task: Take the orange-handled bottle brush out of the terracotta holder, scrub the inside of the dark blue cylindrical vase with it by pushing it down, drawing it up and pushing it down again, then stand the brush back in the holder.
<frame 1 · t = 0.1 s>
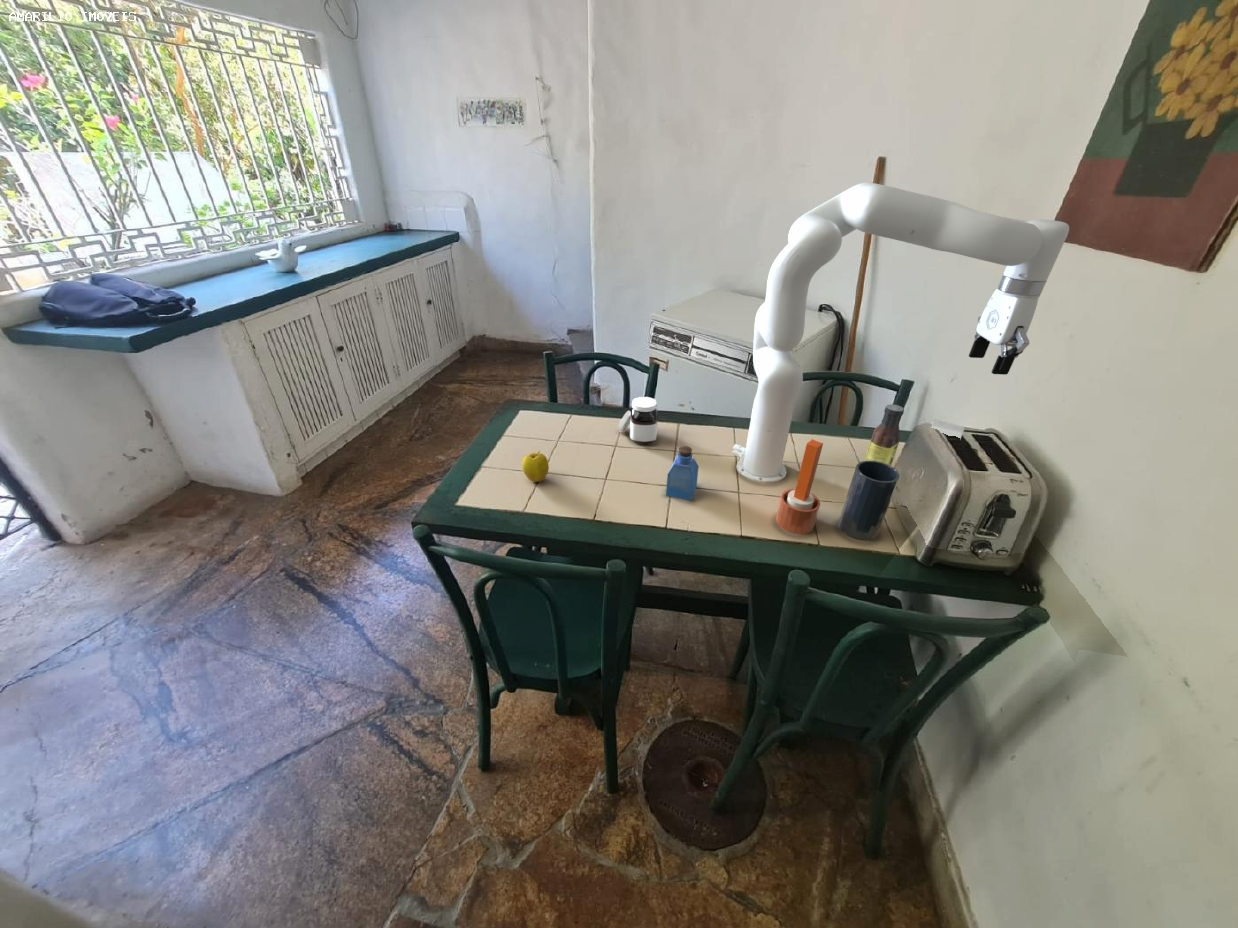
hand: (987, 365, 114), 31 cm above the table, tool pointing down, fingers open, 9 cm apart
brush: (794, 521, 115), point 1 cm above the table, touching brush holder
sauce bottle: (872, 478, 132), on the table
brush holder: (794, 524, 115), on the table
dark blue cylindrical vase: (856, 531, 113), on the table
milk: (916, 504, 122), on the table
apple: (536, 479, 129), on the table
spread jar: (636, 437, 148), on the table
perfume bottle: (681, 491, 125), on the table
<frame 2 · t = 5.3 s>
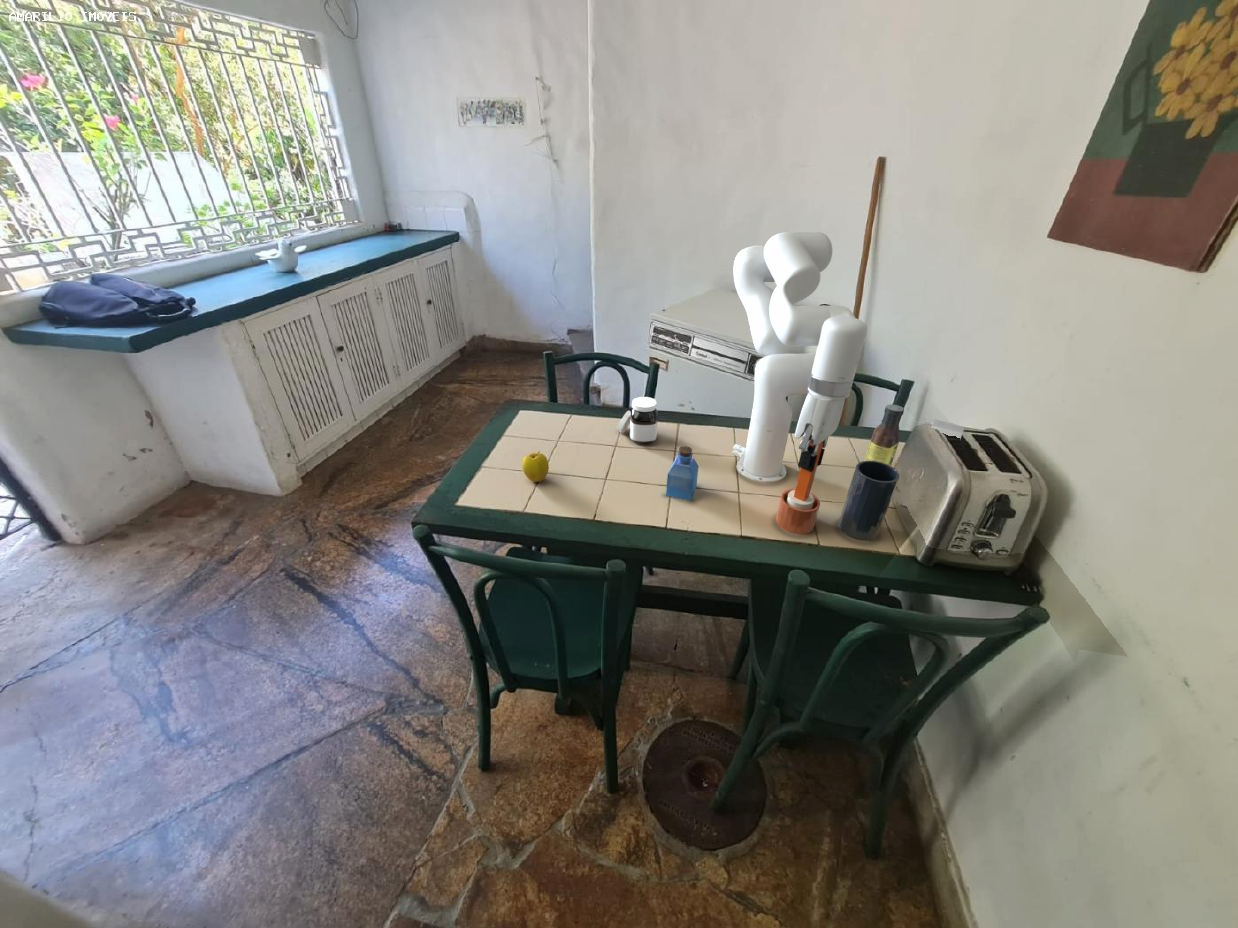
hand: (809, 465, 106), 16 cm above the table, tool pointing down, fingers closed on brush, 2 cm apart
brush: (794, 521, 115), point 1 cm above the table, touching brush holder, gripper
everything else where it was.
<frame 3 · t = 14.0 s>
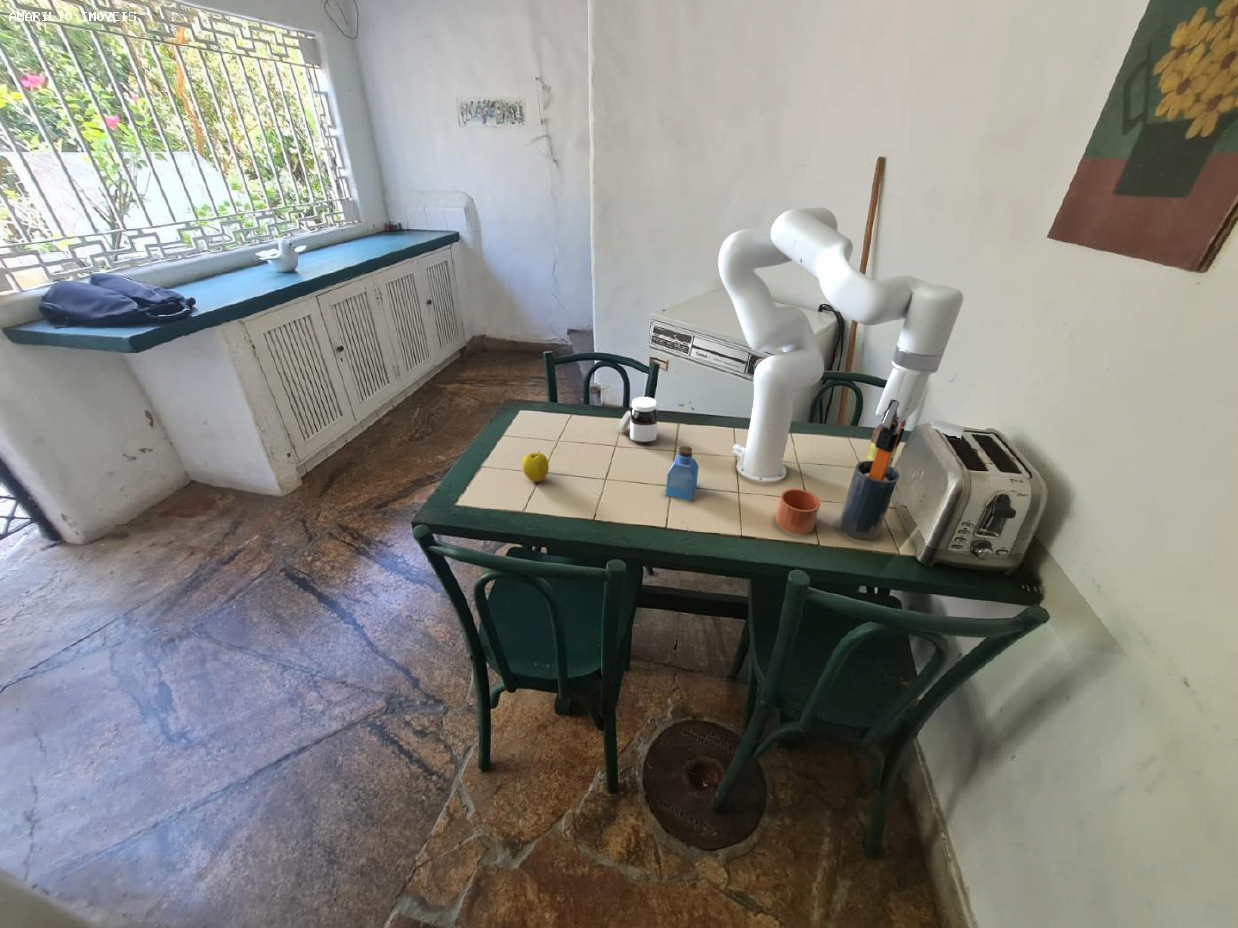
hand: (887, 445, 101), 22 cm above the table, tool pointing down, fingers closed on brush, 2 cm apart
brush: (866, 506, 110), point 7 cm above the table, touching gripper
everything else where it was.
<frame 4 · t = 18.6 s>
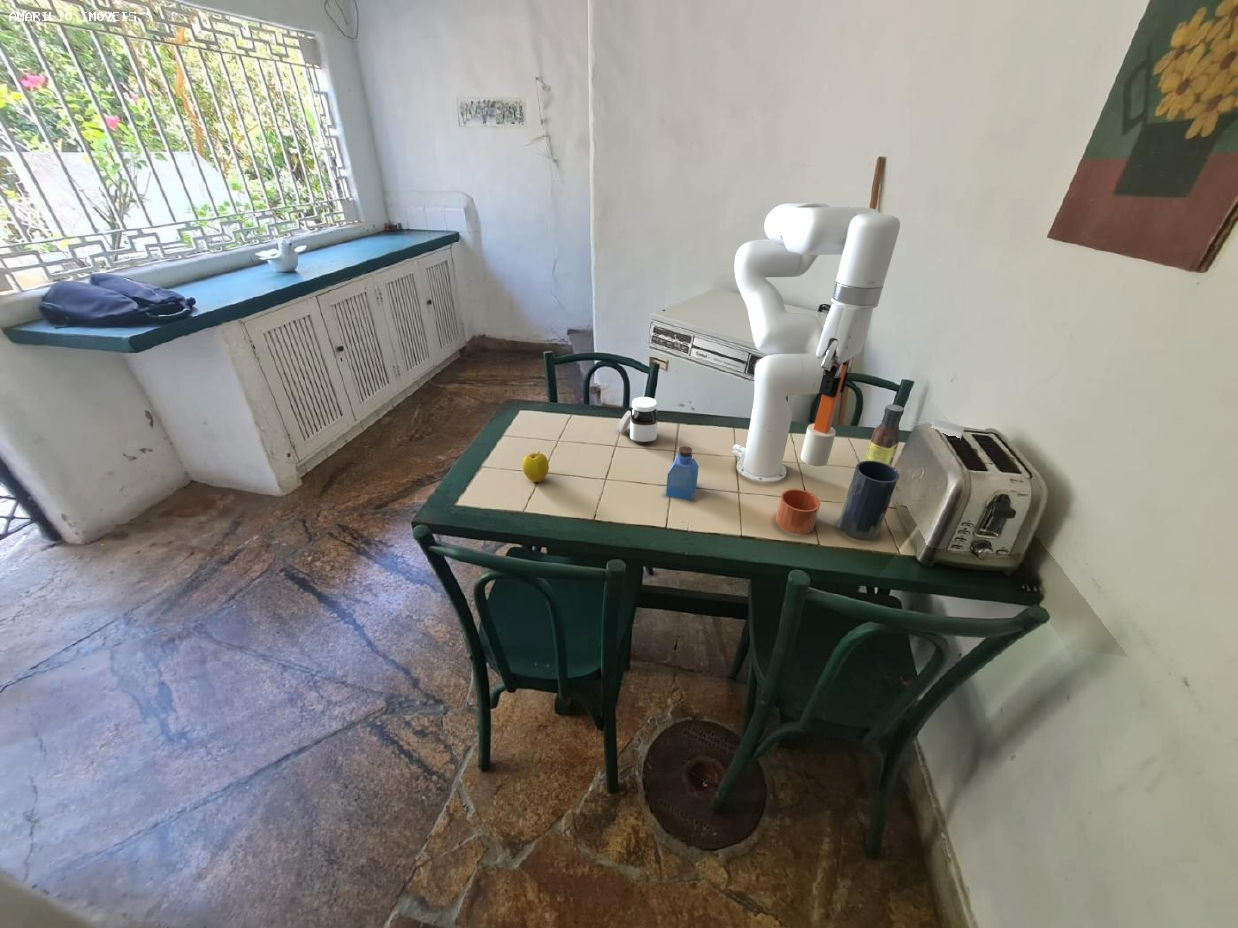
hand: (831, 392, 97), 33 cm above the table, tool pointing down, fingers closed on brush, 2 cm apart
brush: (813, 459, 105), point 18 cm above the table, touching gripper
everything else where it was.
when the fingers open (16 cm above the table, at t = 22.5 s): brush stays where it is, resting on brush holder.
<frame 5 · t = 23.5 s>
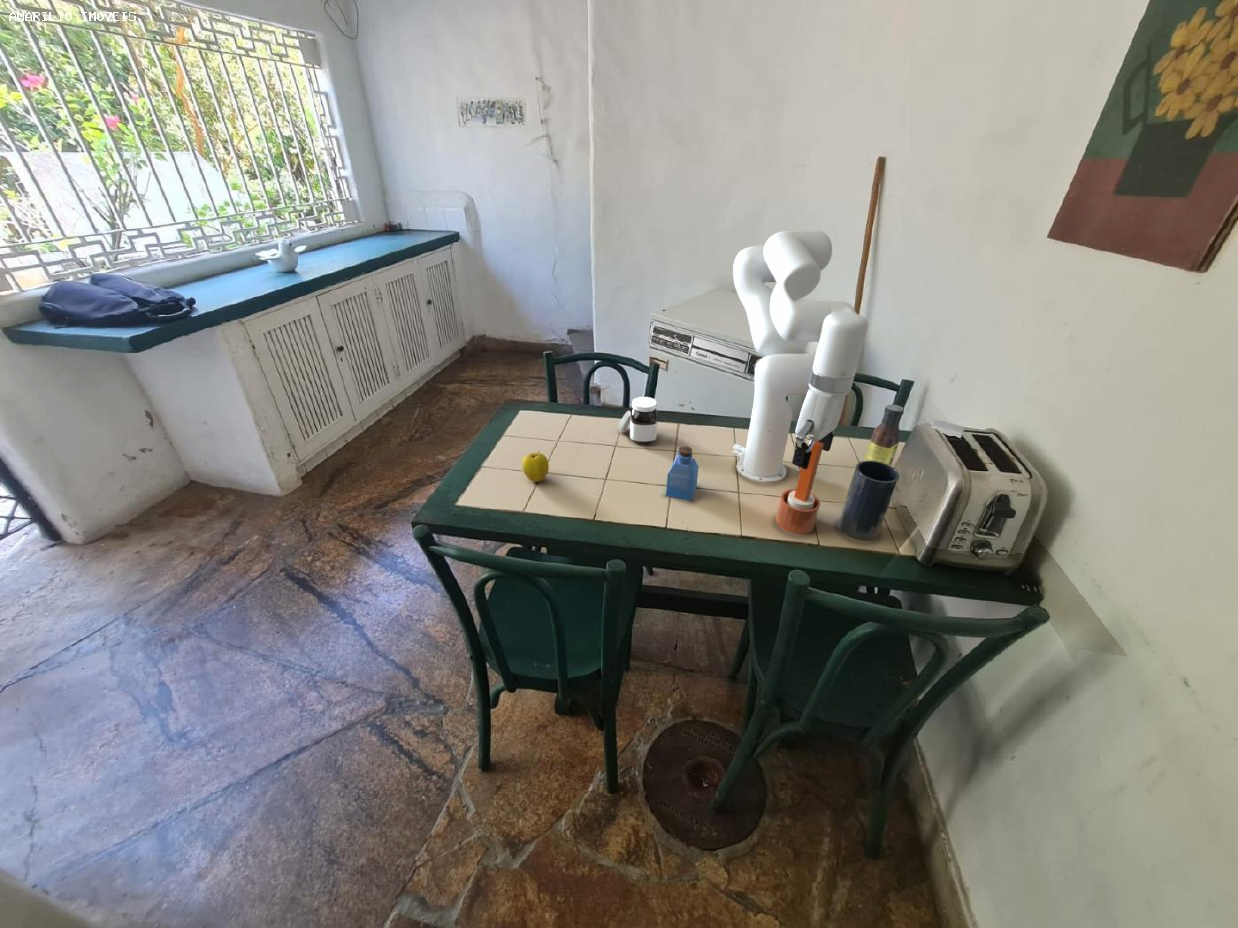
hand: (811, 457, 105), 18 cm above the table, tool pointing down, fingers open, 9 cm apart
brush: (795, 522, 114), point 1 cm above the table, touching brush holder
everything else where it was.
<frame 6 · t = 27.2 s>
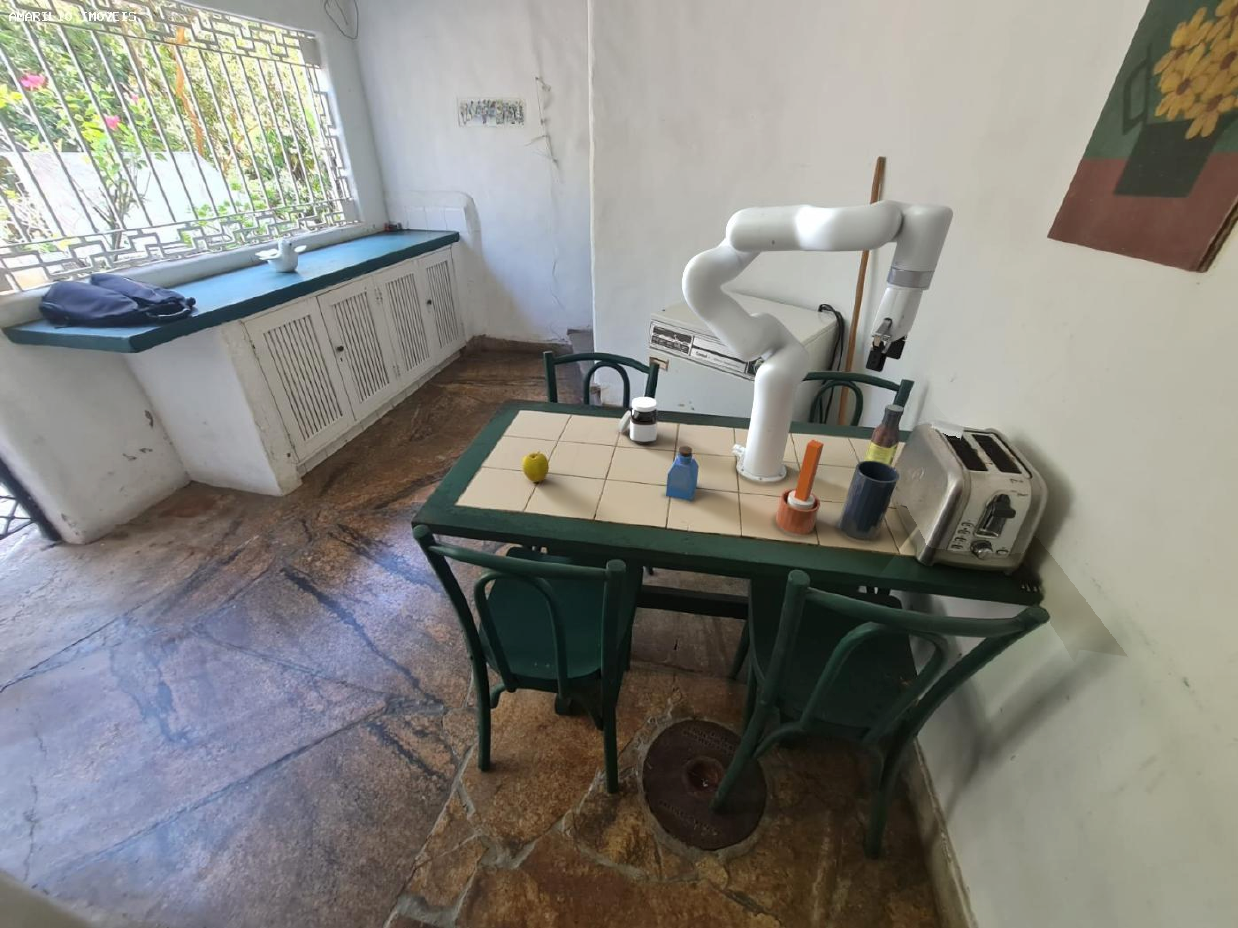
hand: (882, 363, 106), 34 cm above the table, tool pointing down, fingers open, 9 cm apart
nothing on the table moved.
at the end: brush 0.2 cm off-centre in the brush holder, point 0.8 cm above the brush holder's base; dark blue cylindrical vase tilted 0°; dark blue cylindrical vase moved 0.0 cm from its start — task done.
